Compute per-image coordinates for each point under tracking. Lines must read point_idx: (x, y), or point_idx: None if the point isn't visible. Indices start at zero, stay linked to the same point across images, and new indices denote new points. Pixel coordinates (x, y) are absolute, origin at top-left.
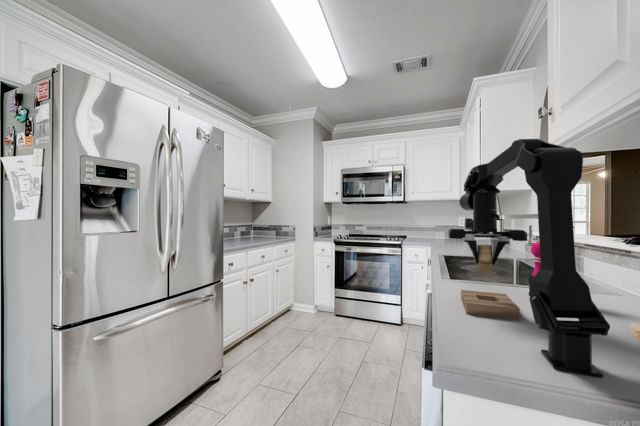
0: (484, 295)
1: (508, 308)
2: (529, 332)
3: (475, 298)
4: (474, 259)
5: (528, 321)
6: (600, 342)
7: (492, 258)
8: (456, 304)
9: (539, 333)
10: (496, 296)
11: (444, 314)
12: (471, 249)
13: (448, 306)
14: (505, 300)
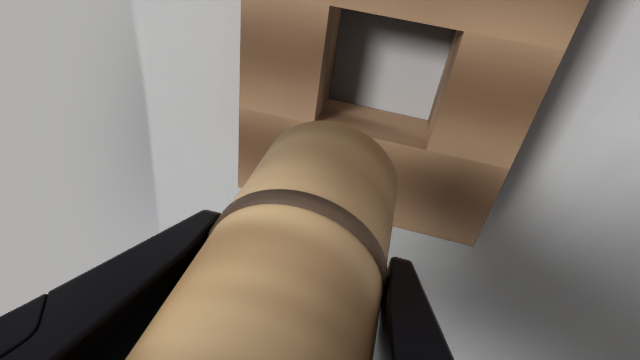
0: (391, 12)
1: (423, 230)
2: (429, 299)
3: (302, 105)
4: (165, 235)
5: (505, 214)
6: (626, 355)
7: (378, 344)
8: (229, 9)
9: (460, 304)
10: (478, 23)
11: (173, 172)
12: (4, 351)
13: (187, 60)
14: (486, 118)
